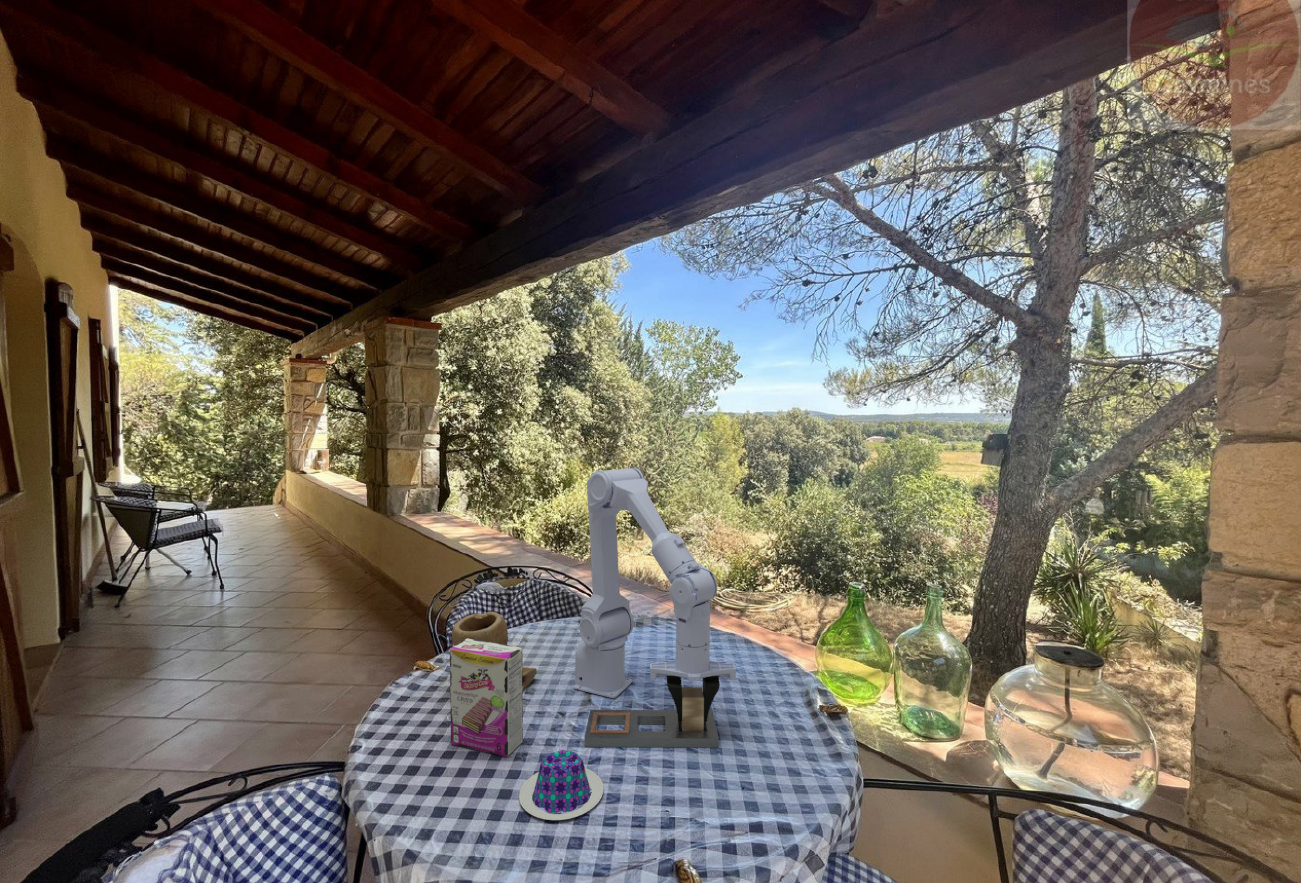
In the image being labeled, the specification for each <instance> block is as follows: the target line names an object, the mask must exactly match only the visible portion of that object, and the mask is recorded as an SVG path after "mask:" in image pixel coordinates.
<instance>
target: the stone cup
mask: <svg viewBox="0 0 1301 883" xmlns="http://www.w3.org/2000/svg"><path fill="white" fill-rule="evenodd" d="M465 639H473V640H479V641H485V642H490V643H496V644H502V645H508V641H509V632H508V625H507V622H506V620H505V618H504V617H503V616H502V615H501V614H499V613H497V612H495V611H487V612H484V613H473V614H470V615H466V616H465V617H463V618H461V619H459V621H457V622H456V623H455V624H454V626H453V628H452V629H451V641H452V645H453V646H455V645H457V644H459V643H460V642H462V641H464V640H465ZM537 673H538V669H537V668H536V667H523V668H522V677H523V680H522V683H523V690H525V688H527V687H528V686H529V685H530V684H531V682H532V681H534V678H535V677H536V675H537Z"/></svg>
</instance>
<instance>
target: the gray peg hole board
mask: <svg viewBox="0 0 1301 883" xmlns="http://www.w3.org/2000/svg"><path fill="white" fill-rule="evenodd" d="M599 725H624V726H623V728H624V729H620V730H619V729H618V730H617V729H616V730H614V729H607V730H606V729H598V727H599ZM639 725H664V728H665V730H663V731H662V730H658V731H657V730H656V731H655V730H643V731H642V730H639V729H638V726H639ZM679 726H681V721H678V714H677V710H676V709H590V710H589V713H588V719H587V724H586V729H585V734H584V738H583V739H584V740H583V741H584V747H585V748H719V743H720V742H719V735H718V729H717V724H716V720H715V715H714V710H713V709H712V710H710V709H709V713H708V718H707V722H704V728H705V729H704V731H680V728H679Z"/></svg>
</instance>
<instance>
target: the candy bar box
mask: <svg viewBox="0 0 1301 883" xmlns="http://www.w3.org/2000/svg"><path fill="white" fill-rule="evenodd" d="M523 654H524V653H523V647H519V646H513V645H508V644H507V645H502V644H496V643H490V642H485V641H479V640H473V639H465V640H464V641H462V642H460V643H459V644H457V645H455V646H454V645H453V646H452V647H450V648H449V688H450V690H449V691H450V695H449V696H450V698H449V699H450V701H449V703H450V744H451V745H454V746H458V747H462V748H468V749H471V750H475V751H479V752H483V753H488V754H493V755H496V756H500V757H505V758H508V757H510V755H512V754H513V753H514V752H515V750H516V749H517V748H519V747H520V746H521V744H523V741H524V731H523V730H524V729H523V728H524V727H523V726H524V722H523V720H524V718H523V714H524V713H523V710H524V707H523V705H524V704H523V703H524V701H523V700H524V699H523V693H524V692H523V690H524V689H523V683H522V680H523V677H522V668H524V667H523Z"/></svg>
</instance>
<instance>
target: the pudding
mask: <svg viewBox="0 0 1301 883" xmlns="http://www.w3.org/2000/svg"><path fill="white" fill-rule="evenodd" d="M591 789H592V790H591ZM604 789H605V788H604V783H603V781H602V779H601V778H600V776H599V775H598V774H597V773H596V772H595V771H592V770H591V769H589V768H587V767H585V764H584V761H583V759H582V757H581V756H579V755H578V753H577V752H575V751H572V750H571V751H570V750H569V751H568V750H564V749H562V750H558V751H556V752H555V751H552V752H550V753H548V755H547V756H546V757H545V758H543V759H542V760H541V763H540V766H539V770H538V772H536V773H534V774H533V775H531V776H530V777H528V779H526V781H524V783H523V784H522V786H521V788H520V790H519V794H518V795H519V797H518V798H519V803H520V805H521V806H522V808H523V809H524V810H525V812H527V813H528V814H530V815H531V816H534V817H536V818H538V819H542V820H547V821H548V820H549V821H562V820H569V819H573V818H576V817H579V816H582V815H584V814H585V813H588V812H589V811H591V810H592V809H593V808H595V806H596V805H598V804H599V802H600V800H601V798H602V797H603V794H604ZM591 792H592V793H591ZM588 794H590V797H589V795H588ZM533 797H534V801H533ZM578 806H581V807H579V808H578V809H577V807H578ZM542 808H543V809H544V810H545V811H543V810H541V809H542ZM559 812H563V813H559Z"/></svg>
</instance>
